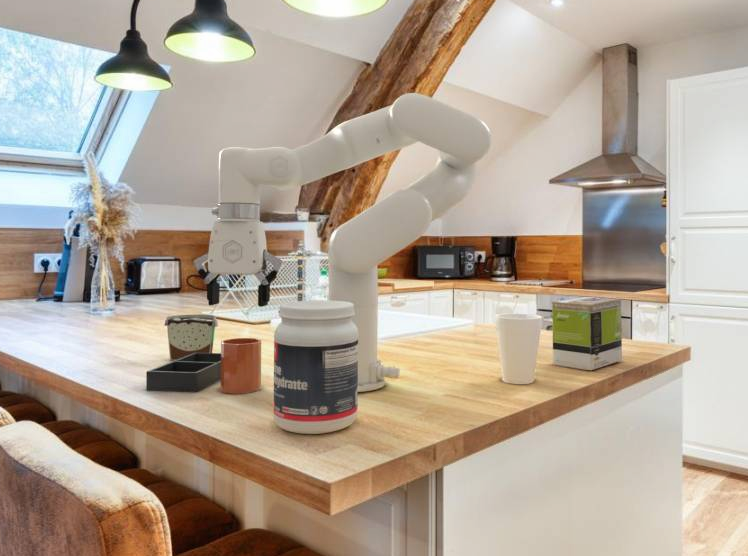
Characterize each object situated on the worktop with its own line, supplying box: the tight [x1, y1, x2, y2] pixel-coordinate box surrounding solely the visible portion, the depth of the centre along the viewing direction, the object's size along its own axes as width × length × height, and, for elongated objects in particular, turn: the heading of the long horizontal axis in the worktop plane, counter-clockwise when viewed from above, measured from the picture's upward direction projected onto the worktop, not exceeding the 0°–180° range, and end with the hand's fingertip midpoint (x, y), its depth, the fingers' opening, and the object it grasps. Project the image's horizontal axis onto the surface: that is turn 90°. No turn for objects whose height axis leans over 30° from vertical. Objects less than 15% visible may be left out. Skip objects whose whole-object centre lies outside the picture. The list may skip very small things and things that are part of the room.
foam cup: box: [494, 312, 543, 385], centre depth 124 cm, size 10×9×13 cm
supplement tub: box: [272, 299, 359, 435], centre depth 94 cm, size 13×13×18 cm
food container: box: [164, 314, 219, 362], centre depth 144 cm, size 12×6×10 cm, turn 84°
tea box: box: [551, 296, 623, 371], centre depth 142 cm, size 15×10×15 cm, turn 136°
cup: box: [220, 337, 262, 395], centre depth 116 cm, size 7×7×9 cm
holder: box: [145, 352, 221, 393], centre depth 123 cm, size 19×10×4 cm, turn 173°
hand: (238, 305), depth 116 cm, fingers open, 9 cm apart
